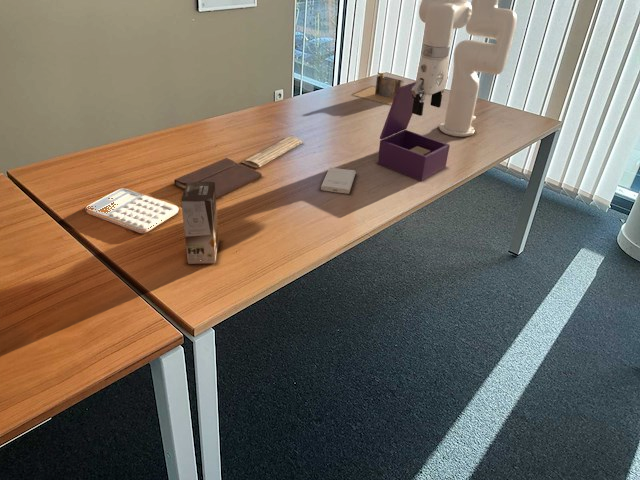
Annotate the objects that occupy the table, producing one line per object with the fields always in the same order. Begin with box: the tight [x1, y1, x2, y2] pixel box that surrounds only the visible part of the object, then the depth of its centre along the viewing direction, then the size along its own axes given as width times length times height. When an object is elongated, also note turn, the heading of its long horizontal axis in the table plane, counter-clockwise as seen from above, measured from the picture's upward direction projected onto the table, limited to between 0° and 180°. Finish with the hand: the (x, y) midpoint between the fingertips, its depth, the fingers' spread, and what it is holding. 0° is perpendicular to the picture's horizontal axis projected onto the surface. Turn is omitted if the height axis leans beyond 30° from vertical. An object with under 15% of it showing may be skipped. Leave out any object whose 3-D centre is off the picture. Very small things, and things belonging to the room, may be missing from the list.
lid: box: [379, 81, 421, 140], centre depth 161 cm, size 17×14×1 cm
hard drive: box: [320, 167, 357, 194], centre depth 155 cm, size 2×8×12 cm
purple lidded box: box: [377, 129, 451, 182], centre depth 165 cm, size 17×14×8 cm
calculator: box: [85, 188, 179, 234], centre depth 135 cm, size 13×20×2 cm, turn 62°
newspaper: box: [240, 136, 303, 169], centre depth 170 cm, size 24×7×2 cm, turn 148°
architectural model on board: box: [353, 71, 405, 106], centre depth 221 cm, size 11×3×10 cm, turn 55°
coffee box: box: [180, 182, 220, 265], centre depth 118 cm, size 9×6×16 cm
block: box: [410, 146, 431, 156], centre depth 164 cm, size 5×5×5 cm
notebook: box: [174, 157, 263, 200], centre depth 152 cm, size 15×20×2 cm
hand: (426, 110), depth 156 cm, fingers open, 9 cm apart
